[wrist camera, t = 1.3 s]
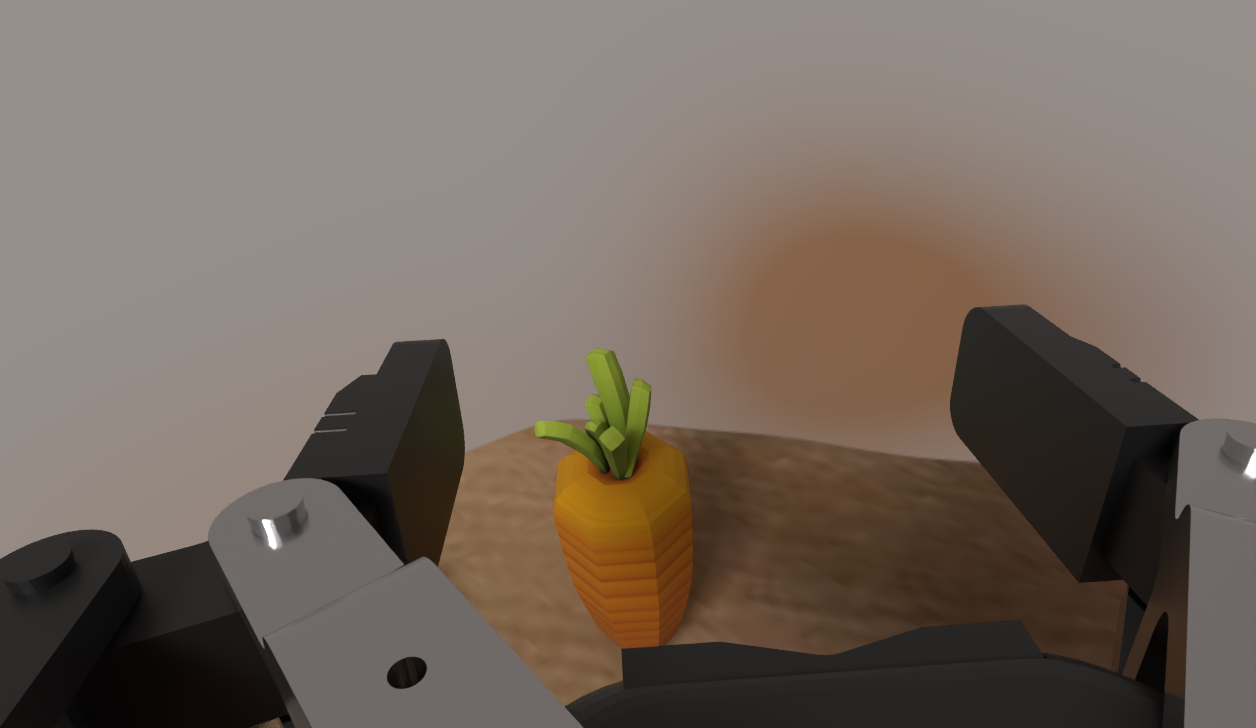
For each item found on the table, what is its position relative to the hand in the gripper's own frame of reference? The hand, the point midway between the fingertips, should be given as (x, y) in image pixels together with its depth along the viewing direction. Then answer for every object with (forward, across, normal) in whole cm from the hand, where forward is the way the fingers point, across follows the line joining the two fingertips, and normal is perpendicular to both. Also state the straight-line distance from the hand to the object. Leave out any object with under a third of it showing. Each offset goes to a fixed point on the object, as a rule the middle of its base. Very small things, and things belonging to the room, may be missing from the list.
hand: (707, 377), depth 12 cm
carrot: (+12, +1, +20) cm, 23 cm away
